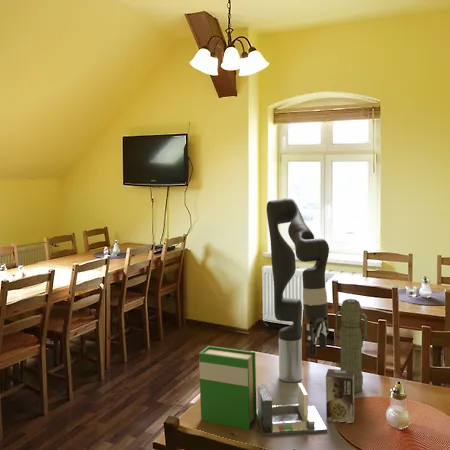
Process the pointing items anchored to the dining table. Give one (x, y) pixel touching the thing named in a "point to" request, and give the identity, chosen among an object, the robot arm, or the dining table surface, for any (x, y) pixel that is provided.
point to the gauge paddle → (303, 403)
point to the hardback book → (228, 386)
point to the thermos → (352, 339)
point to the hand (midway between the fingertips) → (318, 351)
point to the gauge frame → (285, 417)
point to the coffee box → (340, 395)
